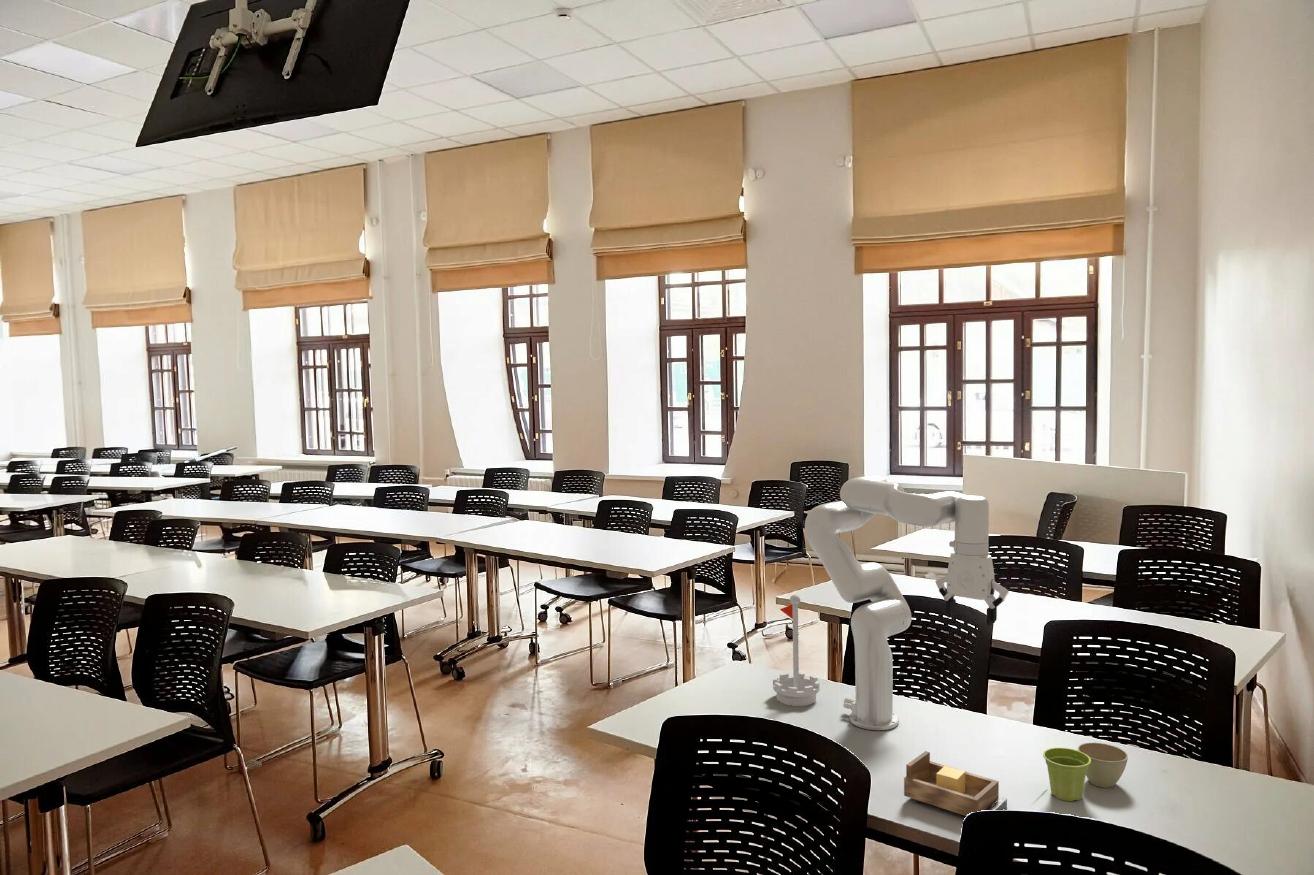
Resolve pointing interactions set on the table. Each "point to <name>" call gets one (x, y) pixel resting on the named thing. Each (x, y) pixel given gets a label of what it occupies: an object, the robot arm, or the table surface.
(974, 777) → the wooden crate
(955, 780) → the block
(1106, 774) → the flower pot
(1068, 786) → the plant pot
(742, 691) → the table surface
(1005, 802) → the rail
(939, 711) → the table surface
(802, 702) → the flag stand
